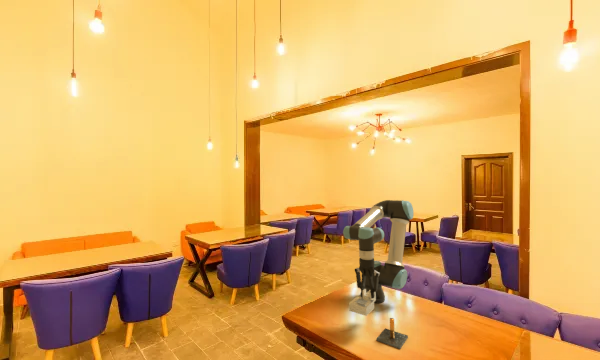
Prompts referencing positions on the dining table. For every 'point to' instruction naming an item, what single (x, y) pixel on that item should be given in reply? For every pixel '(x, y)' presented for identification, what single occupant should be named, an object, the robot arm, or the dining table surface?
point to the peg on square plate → (392, 336)
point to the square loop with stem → (362, 304)
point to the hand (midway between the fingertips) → (367, 303)
